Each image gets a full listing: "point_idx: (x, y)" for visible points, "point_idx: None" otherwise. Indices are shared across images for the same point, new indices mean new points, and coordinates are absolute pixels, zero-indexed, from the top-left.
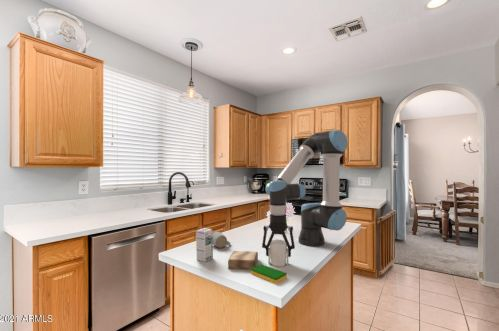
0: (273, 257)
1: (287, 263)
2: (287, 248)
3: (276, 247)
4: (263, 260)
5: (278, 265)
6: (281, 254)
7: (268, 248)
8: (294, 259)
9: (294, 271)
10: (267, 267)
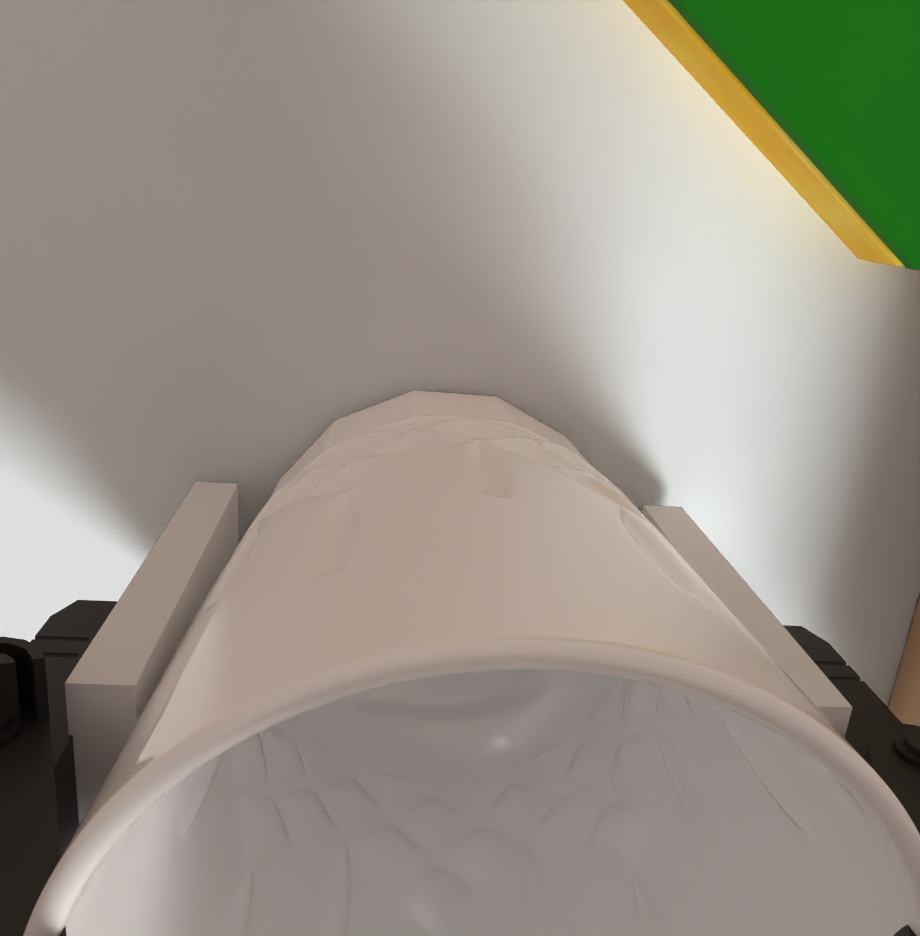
0: (617, 493)
1: (213, 491)
2: None
3: (610, 580)
4: None
5: (451, 394)
6: (361, 483)
7: None
8: None
9: (39, 94)
10: (812, 10)
